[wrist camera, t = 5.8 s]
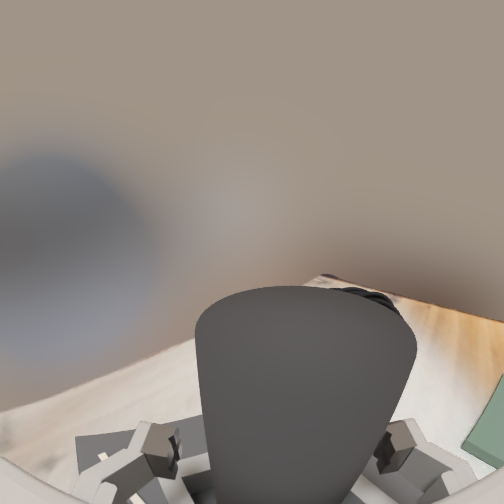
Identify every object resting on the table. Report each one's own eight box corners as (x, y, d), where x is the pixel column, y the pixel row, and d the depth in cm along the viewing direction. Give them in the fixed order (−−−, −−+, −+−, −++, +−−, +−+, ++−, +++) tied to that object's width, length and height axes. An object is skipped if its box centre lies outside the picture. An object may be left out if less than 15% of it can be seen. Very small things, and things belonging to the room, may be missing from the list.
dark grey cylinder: (340, 525, 9) (451, 336, 6) (251, 570, 6) (275, 452, 3) (286, 469, 14) (319, 276, 10) (204, 501, 11) (169, 302, 8)
